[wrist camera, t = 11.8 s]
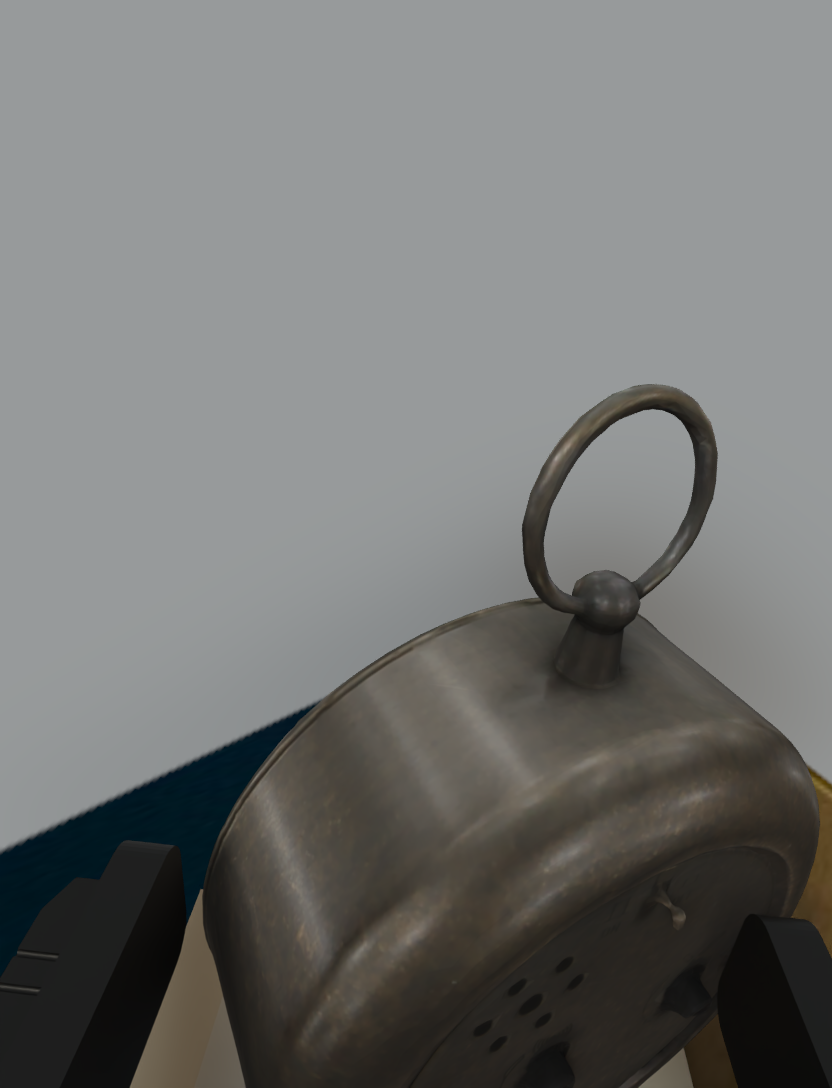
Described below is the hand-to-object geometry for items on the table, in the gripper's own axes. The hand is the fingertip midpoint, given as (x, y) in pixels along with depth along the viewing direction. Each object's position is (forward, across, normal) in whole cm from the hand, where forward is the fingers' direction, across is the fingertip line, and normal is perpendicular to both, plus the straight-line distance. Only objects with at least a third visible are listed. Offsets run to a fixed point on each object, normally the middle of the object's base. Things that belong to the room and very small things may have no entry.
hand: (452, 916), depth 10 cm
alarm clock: (+2, -2, +9) cm, 10 cm away
